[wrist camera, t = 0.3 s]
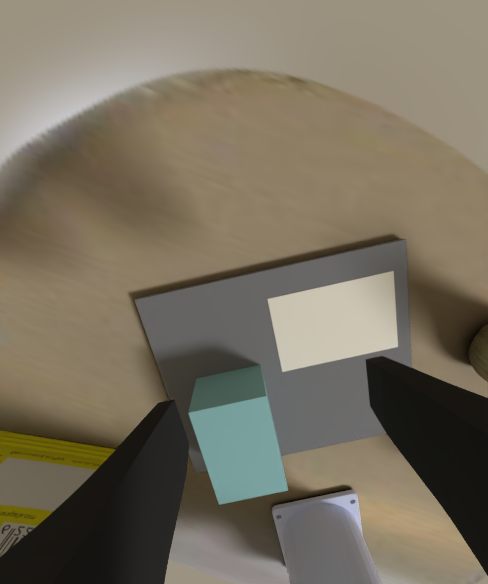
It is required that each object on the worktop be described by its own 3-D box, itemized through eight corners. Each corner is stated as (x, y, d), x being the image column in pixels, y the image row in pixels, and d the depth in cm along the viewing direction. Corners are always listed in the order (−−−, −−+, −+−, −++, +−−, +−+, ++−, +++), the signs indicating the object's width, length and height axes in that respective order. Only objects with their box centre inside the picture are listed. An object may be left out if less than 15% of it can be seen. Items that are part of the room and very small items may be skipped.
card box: (279, 446, 21) (288, 490, 18) (221, 458, 21) (219, 504, 18) (260, 364, 19) (266, 395, 16) (196, 378, 19) (188, 412, 16)
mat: (409, 422, 22) (414, 428, 21) (196, 467, 22) (195, 474, 21) (400, 238, 18) (406, 239, 17) (137, 297, 18) (134, 300, 17)
